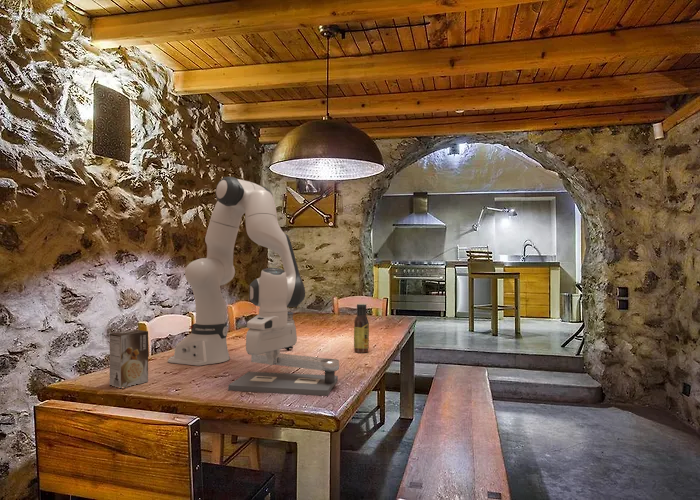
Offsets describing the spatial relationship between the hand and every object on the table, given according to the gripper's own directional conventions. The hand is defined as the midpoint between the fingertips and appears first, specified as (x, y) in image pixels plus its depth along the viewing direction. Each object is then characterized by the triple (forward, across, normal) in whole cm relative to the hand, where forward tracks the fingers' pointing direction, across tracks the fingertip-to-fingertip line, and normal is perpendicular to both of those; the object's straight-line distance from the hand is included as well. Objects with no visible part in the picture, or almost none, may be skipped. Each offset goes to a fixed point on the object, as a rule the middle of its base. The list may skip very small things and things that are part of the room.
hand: (272, 364), depth 137 cm
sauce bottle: (+6, -55, 0) cm, 56 cm away
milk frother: (+6, -45, -33) cm, 56 cm away
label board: (+6, -1, +4) cm, 7 cm away
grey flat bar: (0, -5, +5) cm, 7 cm away
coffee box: (+6, +24, -37) cm, 45 cm away
